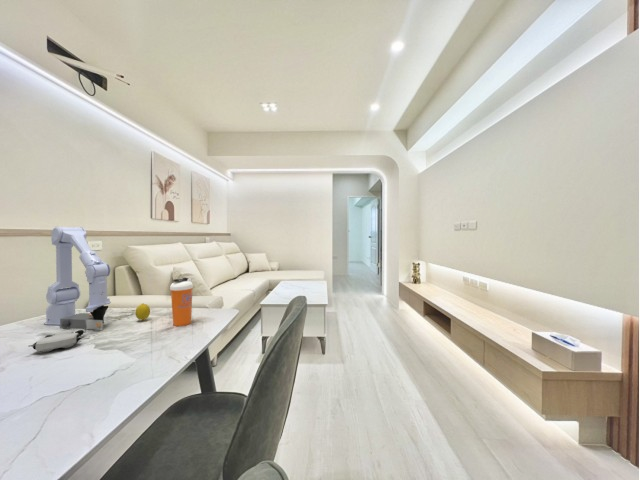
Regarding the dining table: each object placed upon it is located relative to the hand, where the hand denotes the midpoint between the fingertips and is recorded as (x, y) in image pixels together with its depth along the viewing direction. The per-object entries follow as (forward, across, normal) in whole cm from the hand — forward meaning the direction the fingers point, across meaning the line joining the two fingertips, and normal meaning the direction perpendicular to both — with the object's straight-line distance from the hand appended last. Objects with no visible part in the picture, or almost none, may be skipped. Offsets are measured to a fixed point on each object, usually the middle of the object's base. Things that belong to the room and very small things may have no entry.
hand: (98, 324), depth 105 cm
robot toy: (+2, -16, +4) cm, 17 cm away
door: (+2, -1, +2) cm, 2 cm away
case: (+2, +7, +9) cm, 12 cm away
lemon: (+2, +5, -14) cm, 15 cm away
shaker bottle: (+2, -5, -33) cm, 33 cm away
